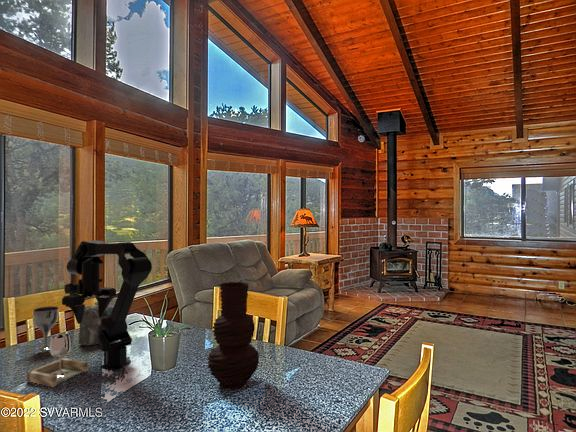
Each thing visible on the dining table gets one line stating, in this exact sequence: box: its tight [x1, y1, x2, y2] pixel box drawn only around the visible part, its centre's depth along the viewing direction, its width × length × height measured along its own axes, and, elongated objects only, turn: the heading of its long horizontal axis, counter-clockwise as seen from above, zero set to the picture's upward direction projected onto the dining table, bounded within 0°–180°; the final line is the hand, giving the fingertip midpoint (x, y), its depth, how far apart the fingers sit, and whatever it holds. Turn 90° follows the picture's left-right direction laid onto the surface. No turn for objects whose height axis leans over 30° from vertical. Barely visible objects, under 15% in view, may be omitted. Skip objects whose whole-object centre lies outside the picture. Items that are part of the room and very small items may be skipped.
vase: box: [207, 281, 260, 391], centre depth 116 cm, size 15×15×30 cm
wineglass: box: [49, 333, 72, 378], centre depth 120 cm, size 6×6×12 cm
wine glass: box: [32, 305, 60, 351], centre depth 144 cm, size 8×8×15 cm
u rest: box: [26, 357, 89, 388], centre depth 120 cm, size 10×12×3 cm
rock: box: [77, 298, 117, 346], centre depth 157 cm, size 21×16×10 cm
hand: (90, 320), depth 136 cm, fingers open, 9 cm apart
